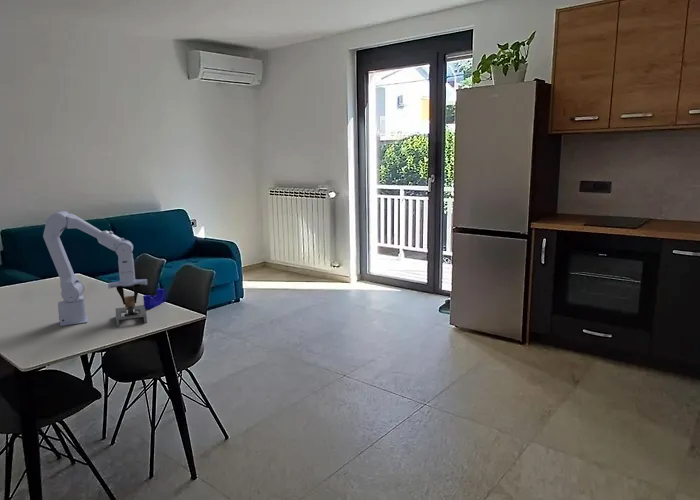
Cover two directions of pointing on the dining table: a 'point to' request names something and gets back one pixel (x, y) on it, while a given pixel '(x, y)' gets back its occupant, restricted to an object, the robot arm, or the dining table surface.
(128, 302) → the peg
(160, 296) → the blue curved bracket
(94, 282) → the dining table surface
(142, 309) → the notched window frame
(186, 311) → the dining table surface
